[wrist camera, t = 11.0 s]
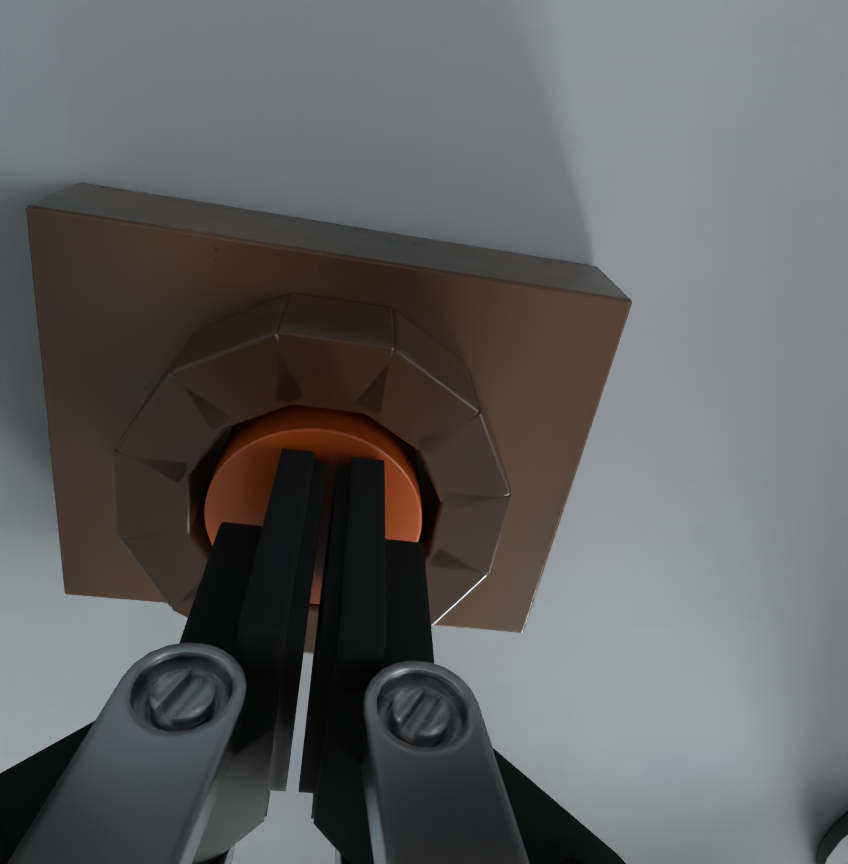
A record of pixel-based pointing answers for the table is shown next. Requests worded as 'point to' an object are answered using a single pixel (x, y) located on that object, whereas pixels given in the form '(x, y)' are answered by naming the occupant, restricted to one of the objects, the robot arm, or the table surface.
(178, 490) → the button block
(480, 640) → the table surface
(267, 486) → the button
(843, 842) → the mug
